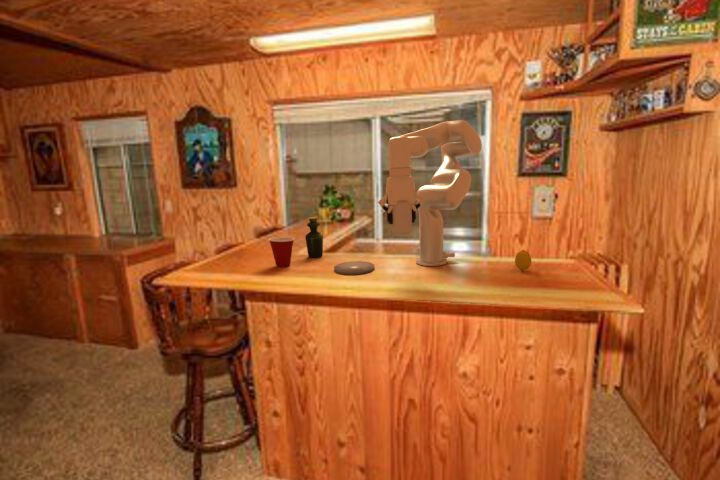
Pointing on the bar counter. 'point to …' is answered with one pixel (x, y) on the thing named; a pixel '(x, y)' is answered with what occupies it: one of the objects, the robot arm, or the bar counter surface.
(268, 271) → the bar counter surface
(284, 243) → the plastic cup
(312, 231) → the potion bottle
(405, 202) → the can
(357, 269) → the dish
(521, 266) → the lemon
